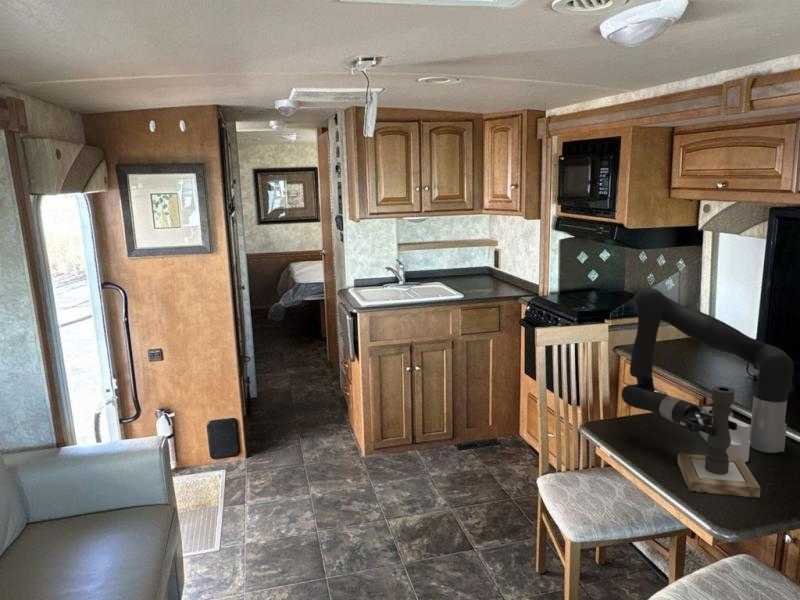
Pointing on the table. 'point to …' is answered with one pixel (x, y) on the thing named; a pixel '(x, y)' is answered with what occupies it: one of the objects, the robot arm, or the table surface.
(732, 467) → the platform
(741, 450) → the cylinder with rectangular tab
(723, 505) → the table surface
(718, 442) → the candle holder
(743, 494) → the stand
